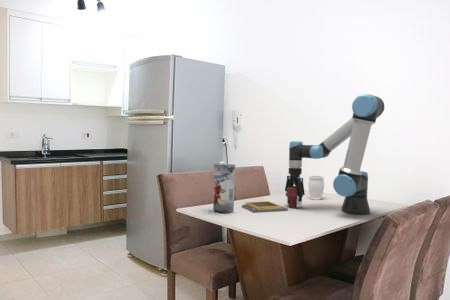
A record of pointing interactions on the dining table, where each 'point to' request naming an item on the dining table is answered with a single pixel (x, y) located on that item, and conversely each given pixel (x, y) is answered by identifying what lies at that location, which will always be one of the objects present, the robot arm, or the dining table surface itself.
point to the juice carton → (224, 187)
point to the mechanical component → (292, 196)
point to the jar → (316, 187)
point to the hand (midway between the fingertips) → (293, 205)
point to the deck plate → (263, 207)
